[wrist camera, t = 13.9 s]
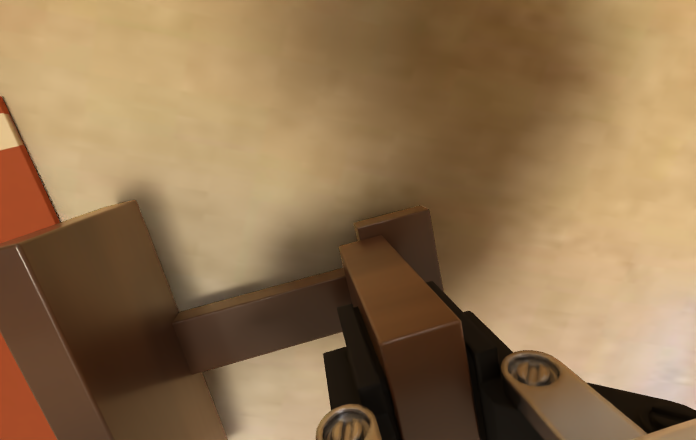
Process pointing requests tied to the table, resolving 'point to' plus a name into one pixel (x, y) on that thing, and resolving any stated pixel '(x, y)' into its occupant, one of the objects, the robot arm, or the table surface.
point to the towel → (3, 225)
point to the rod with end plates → (217, 328)
